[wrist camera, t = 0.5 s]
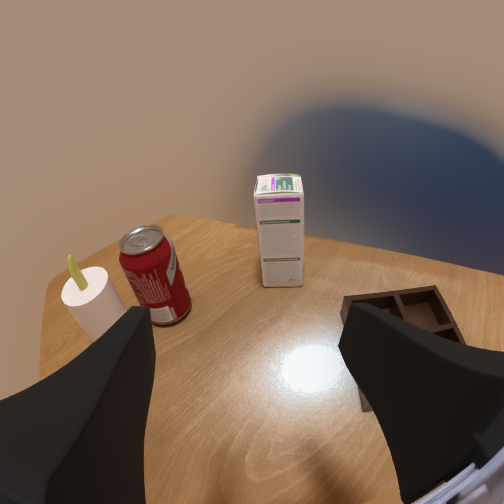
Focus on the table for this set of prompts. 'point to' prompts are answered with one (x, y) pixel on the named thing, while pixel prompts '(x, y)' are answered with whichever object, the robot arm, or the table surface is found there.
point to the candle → (92, 299)
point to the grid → (411, 313)
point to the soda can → (154, 273)
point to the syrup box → (280, 229)
